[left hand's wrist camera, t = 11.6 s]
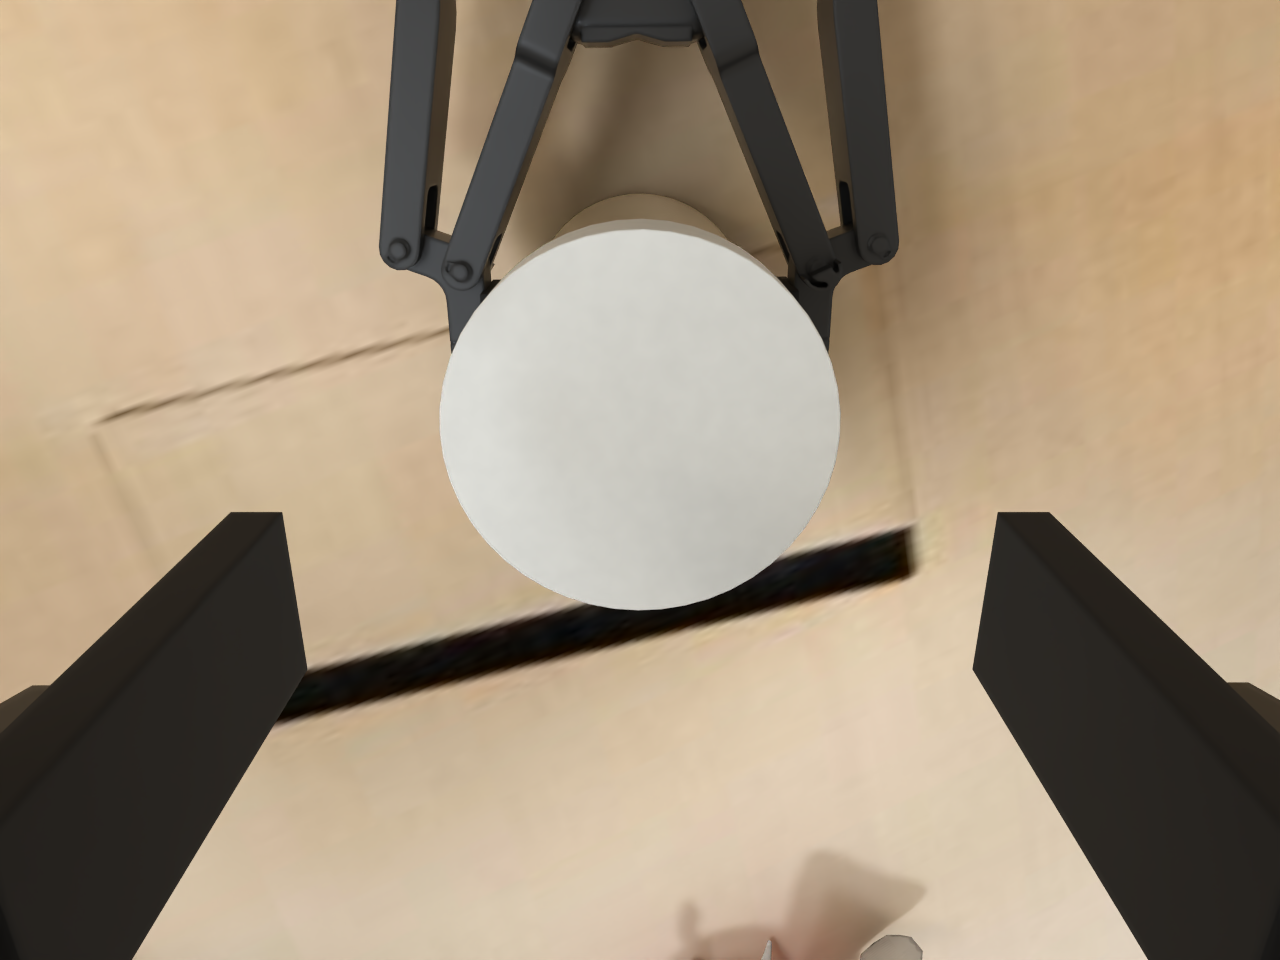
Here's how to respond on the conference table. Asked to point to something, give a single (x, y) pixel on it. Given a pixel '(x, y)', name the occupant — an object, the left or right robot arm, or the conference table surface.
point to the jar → (639, 213)
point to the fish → (881, 949)
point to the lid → (639, 416)
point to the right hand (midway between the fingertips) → (641, 474)
